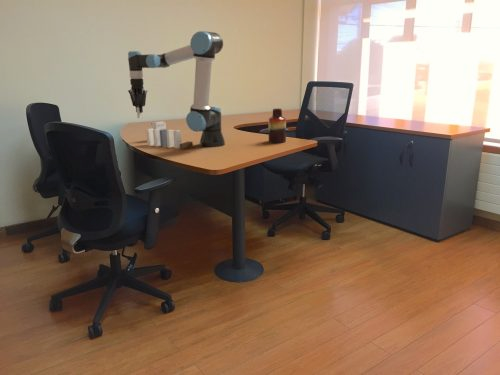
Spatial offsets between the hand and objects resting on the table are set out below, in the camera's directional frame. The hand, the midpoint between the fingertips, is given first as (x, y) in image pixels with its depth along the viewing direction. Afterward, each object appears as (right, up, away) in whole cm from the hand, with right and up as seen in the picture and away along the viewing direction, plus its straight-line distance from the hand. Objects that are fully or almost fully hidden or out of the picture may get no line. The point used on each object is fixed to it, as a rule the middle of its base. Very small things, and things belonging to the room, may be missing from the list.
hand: (140, 117), depth 259 cm
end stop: (+30, -19, -9) cm, 37 cm away
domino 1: (+7, -17, +2) cm, 18 cm away
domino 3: (+16, -18, -3) cm, 24 cm away
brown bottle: (+85, -14, +6) cm, 86 cm away
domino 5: (+25, -19, -7) cm, 32 cm away
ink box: (+9, -12, +17) cm, 22 cm away
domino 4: (+20, -18, -5) cm, 27 cm away
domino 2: (+11, -17, 0) cm, 20 cm away
